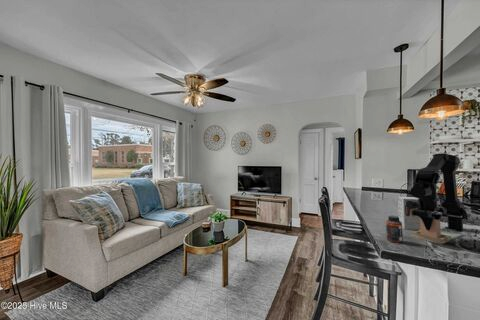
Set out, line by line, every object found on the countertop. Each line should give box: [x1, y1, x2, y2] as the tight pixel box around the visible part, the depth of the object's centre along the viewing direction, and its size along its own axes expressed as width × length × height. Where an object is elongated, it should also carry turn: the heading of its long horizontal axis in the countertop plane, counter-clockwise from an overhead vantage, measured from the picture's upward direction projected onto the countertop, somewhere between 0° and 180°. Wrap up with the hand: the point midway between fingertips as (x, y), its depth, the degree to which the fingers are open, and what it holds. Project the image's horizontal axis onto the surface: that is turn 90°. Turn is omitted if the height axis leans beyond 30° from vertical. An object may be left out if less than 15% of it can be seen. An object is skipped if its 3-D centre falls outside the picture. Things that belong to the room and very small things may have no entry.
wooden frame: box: [411, 230, 452, 245], centre depth 96 cm, size 9×11×2 cm
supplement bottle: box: [385, 215, 404, 244], centre depth 94 cm, size 6×6×11 cm
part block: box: [420, 218, 442, 238], centre depth 96 cm, size 4×6×8 cm, turn 25°
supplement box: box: [397, 196, 420, 231], centre depth 113 cm, size 10×9×17 cm
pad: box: [441, 229, 463, 240], centre depth 101 cm, size 10×10×1 cm
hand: (430, 229), depth 96 cm, fingers closed on part block, 4 cm apart
